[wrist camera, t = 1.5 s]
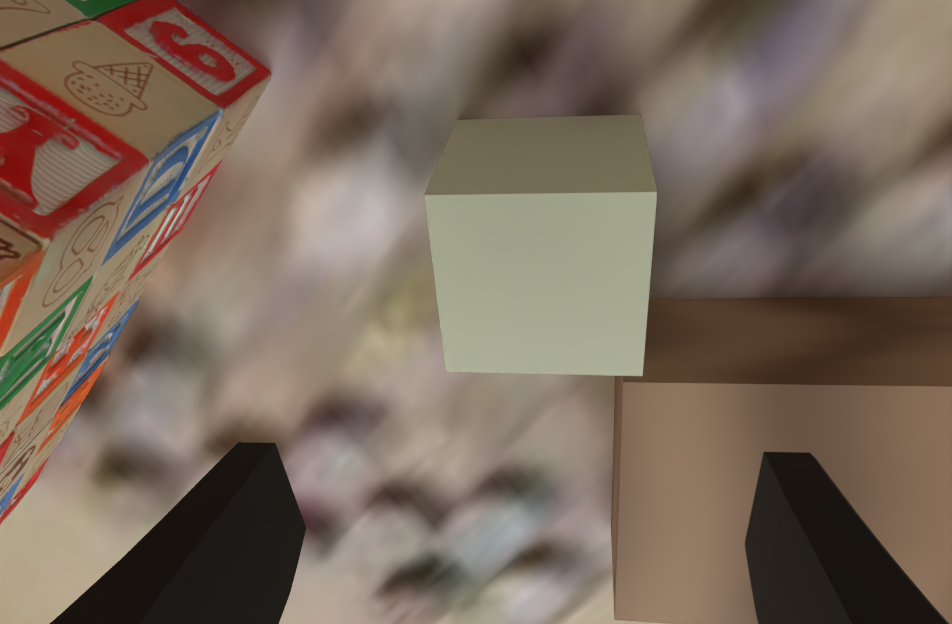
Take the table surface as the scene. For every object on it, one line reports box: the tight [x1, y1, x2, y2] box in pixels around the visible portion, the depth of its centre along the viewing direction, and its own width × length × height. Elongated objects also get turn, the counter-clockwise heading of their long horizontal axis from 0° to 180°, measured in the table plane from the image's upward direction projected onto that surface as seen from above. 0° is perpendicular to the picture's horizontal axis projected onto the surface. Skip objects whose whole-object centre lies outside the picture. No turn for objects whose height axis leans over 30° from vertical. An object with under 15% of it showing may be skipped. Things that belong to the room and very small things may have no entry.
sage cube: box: [424, 114, 657, 376], centre depth 17 cm, size 4×4×4 cm
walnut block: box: [611, 297, 952, 624], centre depth 20 cm, size 10×10×4 cm
